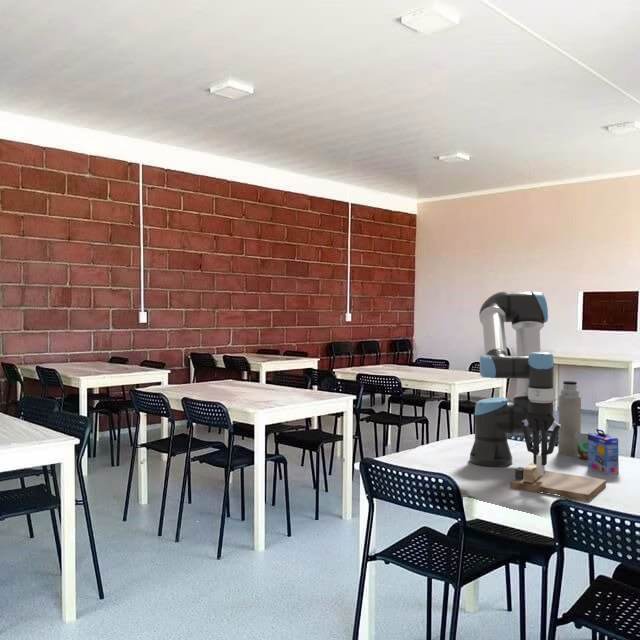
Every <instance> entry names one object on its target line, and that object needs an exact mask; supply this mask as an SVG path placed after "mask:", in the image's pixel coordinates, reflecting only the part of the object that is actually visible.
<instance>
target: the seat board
mask: <svg viewBox="0 0 640 640" xmlns="http://www.w3.org/2000/svg"><path fill="white" fill-rule="evenodd" d="M524 468H525V467H523V466H519V467H517V468H515V470H514V473H515V474H514V478H513V479H512V480H510V481H509V488H511V489H515V488H516V490H520V489H522V490H521V491H526V490H528V491H527V492H532V491H536V492H535V493H537V492H543V493H550V494H557V495H560V496H564V497H563V498H566V497H568V498H567V499H571V500H572V499H573V500H578V501H583V502H589V501H591V500H593V498H594V497H595V496H596V495H598V494H599V493H600V492H602V490H604V489H605V488H606V487H607V479H602V478H596V477H595V478H594V477H590V476H589V477H588V476H583V475H576V474H570V473H563V472H557V471H549V470H545V473H544V474H543V475H542V476H540V477H539V478H538V479H536V480H535V481H534V482H533V483H531V482H524V481H523V469H524ZM543 493H542V494H543ZM560 496H559V497H560Z"/></svg>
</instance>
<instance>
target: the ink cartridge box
mask: <svg viewBox="0 0 640 640" xmlns="http://www.w3.org/2000/svg"><path fill="white" fill-rule="evenodd" d="M595 431H596V432H595V433H593V432H590V433H591V434H588V433H587V434H588V461H587V468H588V469H591V470H593V471H597V472H600V473H601V474H605V475H609V474H610V475H613V474H618V473H620V471H619V467H620V466H619V465H620V464H619V462H620V461H619V438H618V437H615V436H611V435H609V436H607V435H606V434H607V433H605V431H604V430H602V429H598V428H595Z"/></svg>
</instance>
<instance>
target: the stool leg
mask: <svg viewBox="0 0 640 640" xmlns="http://www.w3.org/2000/svg"><path fill="white" fill-rule="evenodd" d="M545 466H546V465H545ZM545 466H544V473H545V471H546V469H545ZM523 468H524V469H523V481H524V482H531V483H533V482H534V481H535V480H536V479H538V478H539V477H540V476H537V475H536V464H534V463H533V460H532V461H531V462H530V463H529V464H528V465H526V466H524V467H523Z"/></svg>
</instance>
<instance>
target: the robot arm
mask: <svg viewBox="0 0 640 640" xmlns="http://www.w3.org/2000/svg"><path fill="white" fill-rule="evenodd" d="M548 308H549V307H548V303H547V299H546V296H545V295H544V293H543V292H541V291H532V290H530V291H498V292H496V293H493V294H492V295H491V296H489V297H488V298H487V299H486V300H485V301H484V302H483V303H482V304H481V307H480V309H479V322H480V324H482V332H483V346H484V355H481V356H480V358H479V375H480V376H481V377H482V378H489V379H516V385H517V386H516V388H517V392H516V394H515V395H514V396H513V397H512V398H513V401H509V400H508V398H507V397H500V396H499V397H489V398H483V399H480V400H478V401H477V402H476V403H475V407H474V413H473V414H474V442H473V445H472V447H471V451H470V453H469V461H470V463H472V464H474V465H479V466H484V467H507V466H510V465H511V466H512V464H513V455H512V452H511V449H510V446H509V443H508V435H522V436H523V437H524V441H525V444H526V445H525V446H526V450H527V452H529V453H532V455H533V460H532V461H533V463H534V464H536V475H537V476H542V475H543V474H544V466H547V464H548V455H551V454H553V453H554V450H555V445H556V442H557V438H558V436H559V430H560V429H561V427H562V425H561V424H559V422H556V421H555V417H554V403H553V401H554V366H555V363H554V354H553V353H551V352H546V351H541V330H542V329H543V328H544V327H545V323H547V322H548V320H549V309H548ZM504 323H511V328H512V329H513V330H515V336H516V337H515V340H516V342H515V343H516V346H515V347H516V349H515V350H516V355H508V347H507V340H506V339H507V338H506V331H505V324H504ZM551 427H552V429H553V430H552V432H551V434H550V435H551V436H550V439H549V443H548V434H549V429H550V428H551ZM540 436H541V437H540ZM540 440H541V441H540ZM540 444H541V446H540ZM540 447H541V448H540ZM540 449H541V450H540Z"/></svg>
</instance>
